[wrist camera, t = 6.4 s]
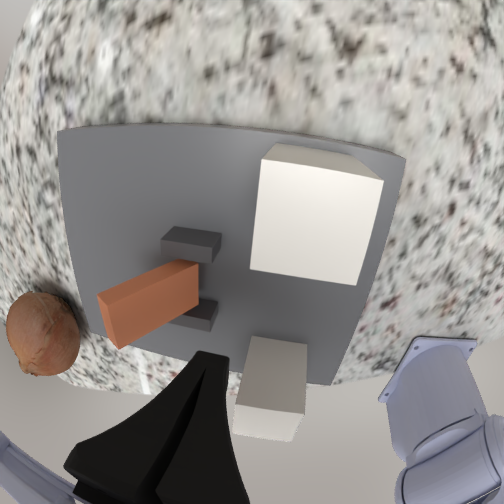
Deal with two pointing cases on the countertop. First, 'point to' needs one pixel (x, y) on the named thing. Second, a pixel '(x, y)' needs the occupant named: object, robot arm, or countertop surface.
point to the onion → (43, 333)
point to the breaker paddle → (149, 301)
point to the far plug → (272, 390)
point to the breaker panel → (206, 235)
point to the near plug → (314, 214)
